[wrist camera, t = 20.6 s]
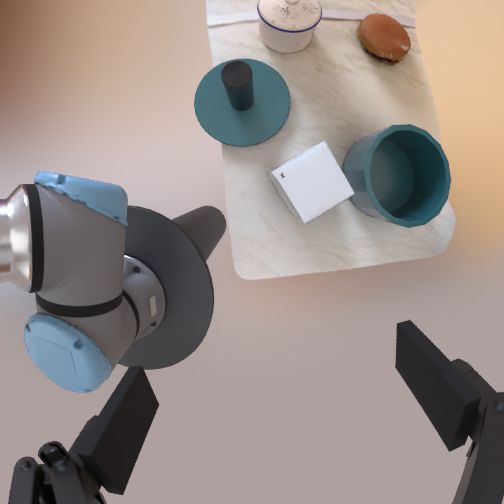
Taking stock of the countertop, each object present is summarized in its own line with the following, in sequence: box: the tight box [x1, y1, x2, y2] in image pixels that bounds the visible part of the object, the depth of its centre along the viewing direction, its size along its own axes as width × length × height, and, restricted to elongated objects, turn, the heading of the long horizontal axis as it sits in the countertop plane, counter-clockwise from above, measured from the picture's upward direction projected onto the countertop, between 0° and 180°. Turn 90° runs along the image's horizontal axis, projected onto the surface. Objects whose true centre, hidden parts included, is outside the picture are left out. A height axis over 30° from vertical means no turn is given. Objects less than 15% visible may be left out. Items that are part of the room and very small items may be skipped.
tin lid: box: [194, 59, 290, 146], centre depth 37 cm, size 15×15×13 cm
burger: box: [357, 14, 411, 65], centre depth 37 cm, size 10×9×5 cm
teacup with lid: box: [257, 0, 322, 53], centre depth 34 cm, size 12×9×12 cm
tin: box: [343, 124, 451, 228], centre depth 40 cm, size 14×14×10 cm
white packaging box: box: [268, 141, 354, 224], centre depth 40 cm, size 7×7×13 cm
